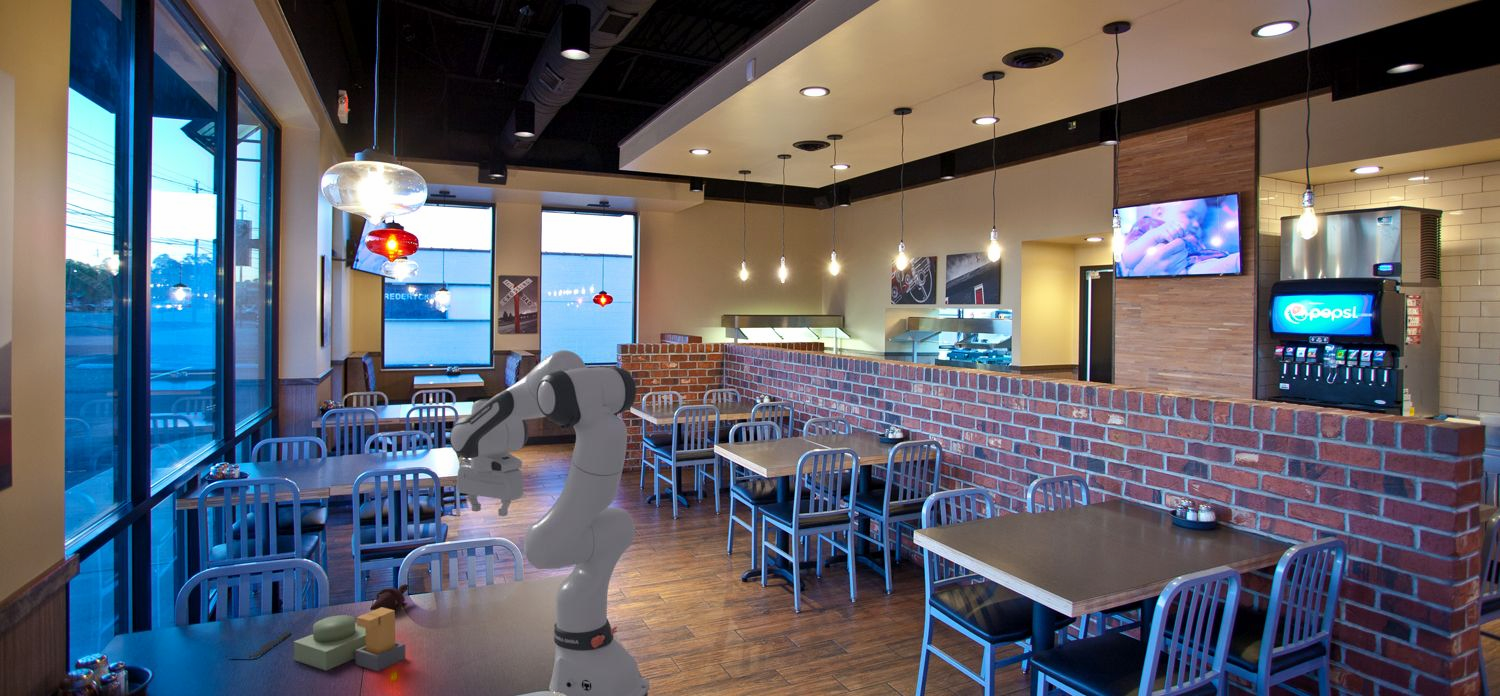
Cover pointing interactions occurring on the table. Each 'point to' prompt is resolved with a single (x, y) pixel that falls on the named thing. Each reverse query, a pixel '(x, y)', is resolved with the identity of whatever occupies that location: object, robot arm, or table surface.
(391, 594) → the dark brown rounded piece
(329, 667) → the green and grey blocks
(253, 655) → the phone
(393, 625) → the tall tan cardboard block
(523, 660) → the table surface
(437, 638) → the table surface
